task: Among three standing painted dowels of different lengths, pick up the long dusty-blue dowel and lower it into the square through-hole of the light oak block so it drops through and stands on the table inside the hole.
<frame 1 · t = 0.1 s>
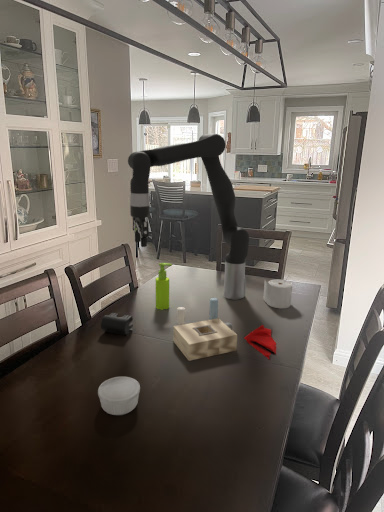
hand: (140, 244, 154), 29 cm above the table, fingers open, 8 cm apart
cloth: (262, 342, 139), on the table
toilet tissue: (276, 304, 172), on the table
short pin: (227, 336, 142), on the table
long pin: (213, 328, 148), on the table
soap dispenser: (163, 307, 166), on the table
hole block: (204, 345, 135), on the table
ramekin: (119, 405, 103), on the table
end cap: (117, 333, 143), on the table
medium pin: (180, 326, 149), on the table
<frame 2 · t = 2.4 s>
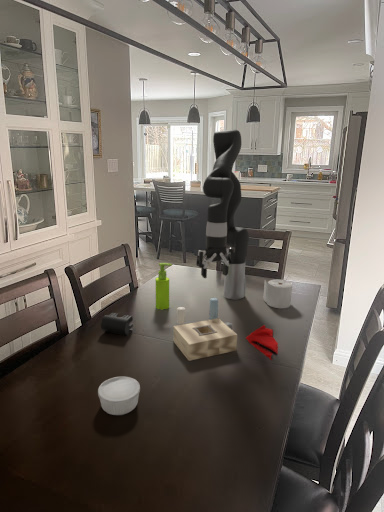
hand: (214, 276, 142), 21 cm above the table, fingers open, 8 cm apart
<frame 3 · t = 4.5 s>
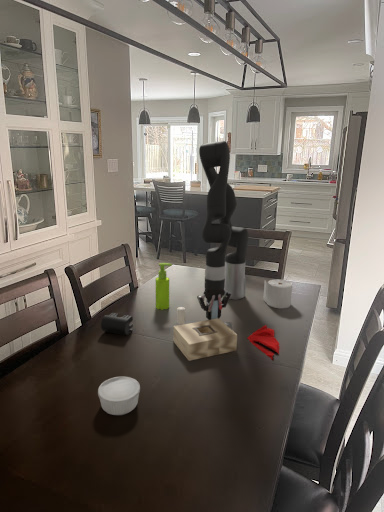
hand: (213, 318, 147), 4 cm above the table, fingers closed on long pin, 3 cm apart
long pin: (213, 328, 148), on the table, touching gripper
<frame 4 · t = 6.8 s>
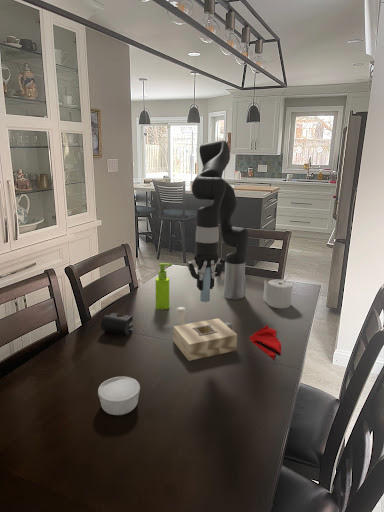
hand: (205, 288, 129), 21 cm above the table, fingers closed on long pin, 3 cm apart
long pin: (205, 300, 130), point 17 cm above the table, touching gripper
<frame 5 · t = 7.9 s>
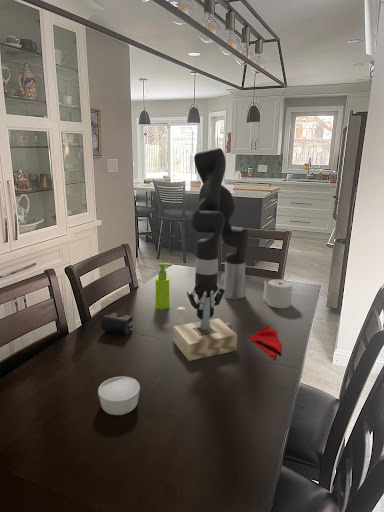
hand: (205, 317, 132), 11 cm above the table, fingers closed on long pin, 3 cm apart
long pin: (204, 328, 133), point 7 cm above the table, touching gripper
when the fingers open (7 cm above the table, at t = 8.9 s): long pin drops 3 cm, resting in hole block.
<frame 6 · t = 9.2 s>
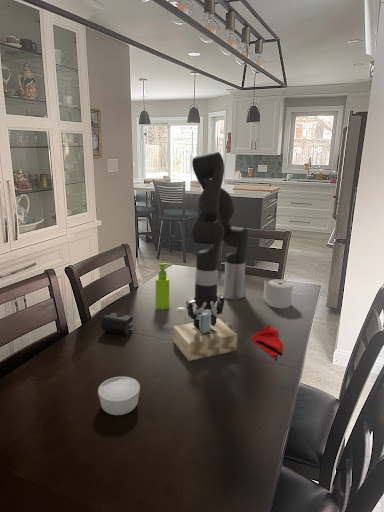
hand: (204, 326, 133), 7 cm above the table, fingers open, 5 cm apart
long pin: (204, 345, 135), resting in hole block
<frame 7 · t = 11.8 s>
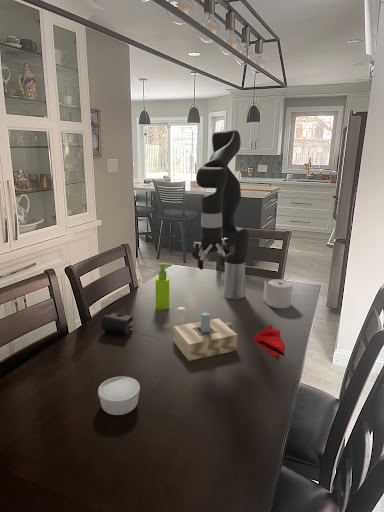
hand: (211, 267, 141), 25 cm above the table, fingers open, 8 cm apart
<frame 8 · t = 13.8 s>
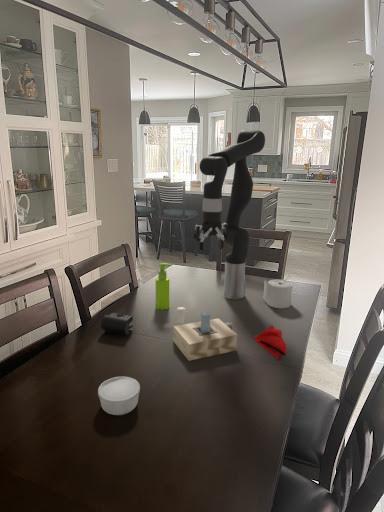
hand: (210, 249, 152), 28 cm above the table, fingers open, 8 cm apart
at the end: long pin 0.1 cm off-centre on the hole block, point 0.0 cm above the hole block's base; long pin tilted 0°; the gripper is holding nothing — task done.
